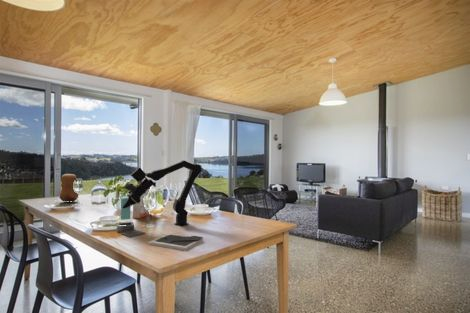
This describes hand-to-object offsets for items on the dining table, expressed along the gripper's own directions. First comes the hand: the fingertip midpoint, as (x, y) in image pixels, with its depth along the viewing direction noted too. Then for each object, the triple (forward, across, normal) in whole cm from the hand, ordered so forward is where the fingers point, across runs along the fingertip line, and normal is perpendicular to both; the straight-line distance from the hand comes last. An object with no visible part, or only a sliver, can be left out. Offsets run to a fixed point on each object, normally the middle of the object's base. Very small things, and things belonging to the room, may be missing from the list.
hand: (122, 207), depth 160 cm
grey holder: (+8, 0, +10) cm, 13 cm away
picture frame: (-7, +35, +26) cm, 44 cm away
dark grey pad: (+6, +11, +12) cm, 18 cm away
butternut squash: (+36, -110, -18) cm, 118 cm away
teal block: (+4, 0, +6) cm, 7 cm away
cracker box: (0, -32, +19) cm, 37 cm away
